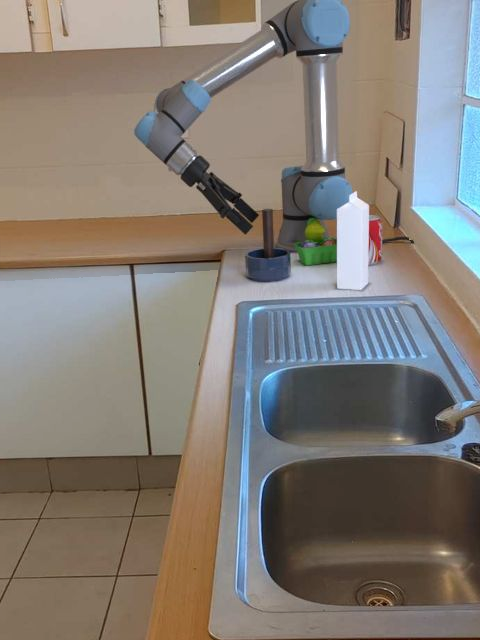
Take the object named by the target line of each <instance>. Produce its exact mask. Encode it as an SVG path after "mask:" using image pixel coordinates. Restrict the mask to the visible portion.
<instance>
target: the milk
mask: <svg viewBox="0 0 480 640" xmlns="http://www.w3.org/2000/svg"><path fill="white" fill-rule="evenodd" d="M369 215H370V204H368V203H367V202H365V201H363V200H362V199H361V198H359V197H358V191H357V190H356V191H354V192H353V193H352V194H351V195H349V202H348V203H346V204H344V205H343V206H341V207H340V208H338V209H337V218H336V239H337V261H336V289H338V290H353V291H363V289H364V288H365V287H366V286H367V285H368V284H369V265H368V249H369Z"/></svg>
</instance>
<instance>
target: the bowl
mask: <svg viewBox="0 0 480 640" xmlns="http://www.w3.org/2000/svg"><path fill="white" fill-rule="evenodd" d="M244 254H245V255H244V259H245V260H244V261H245V276H247V278H250V279H251V280H253V281H256V282H276V281H281V280H283V279H286V278H287V277H288V276H290V275H291V274H292V265H291V264H292V262H291V251H289V250H286V249H281V248H278V247H274V258H264V247H263V248H257V249H252V250H249V251H247V252H246V253H244Z"/></svg>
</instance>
